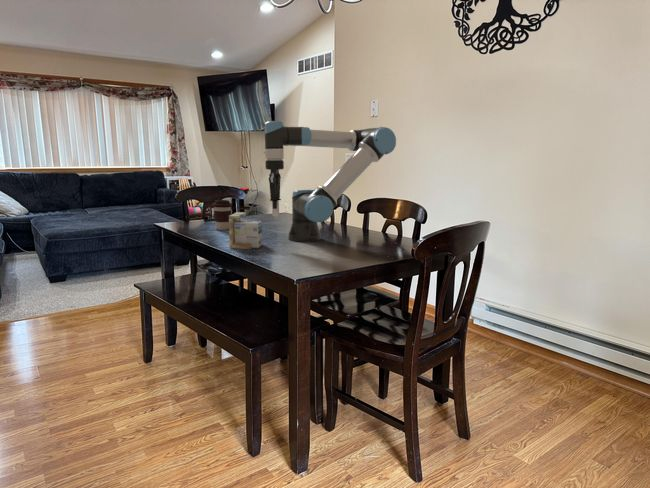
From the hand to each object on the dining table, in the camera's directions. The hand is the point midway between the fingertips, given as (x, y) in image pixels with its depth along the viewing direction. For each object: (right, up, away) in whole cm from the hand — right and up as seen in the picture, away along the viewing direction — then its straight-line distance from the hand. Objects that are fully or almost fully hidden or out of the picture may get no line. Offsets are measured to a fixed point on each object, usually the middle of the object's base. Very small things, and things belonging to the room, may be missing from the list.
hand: (275, 216), depth 193 cm
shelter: (-14, -13, +4) cm, 19 cm away
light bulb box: (-12, -13, +3) cm, 18 cm away
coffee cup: (-32, -4, +45) cm, 55 cm away
